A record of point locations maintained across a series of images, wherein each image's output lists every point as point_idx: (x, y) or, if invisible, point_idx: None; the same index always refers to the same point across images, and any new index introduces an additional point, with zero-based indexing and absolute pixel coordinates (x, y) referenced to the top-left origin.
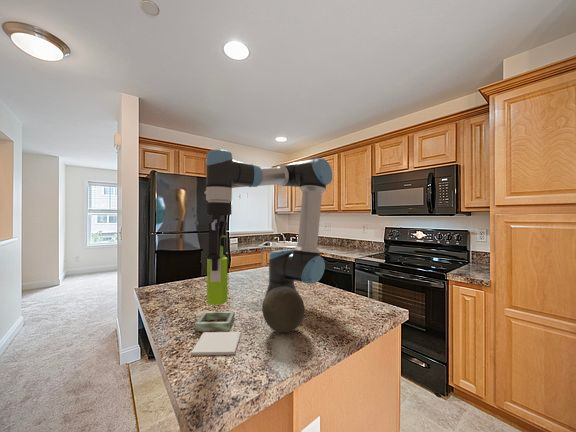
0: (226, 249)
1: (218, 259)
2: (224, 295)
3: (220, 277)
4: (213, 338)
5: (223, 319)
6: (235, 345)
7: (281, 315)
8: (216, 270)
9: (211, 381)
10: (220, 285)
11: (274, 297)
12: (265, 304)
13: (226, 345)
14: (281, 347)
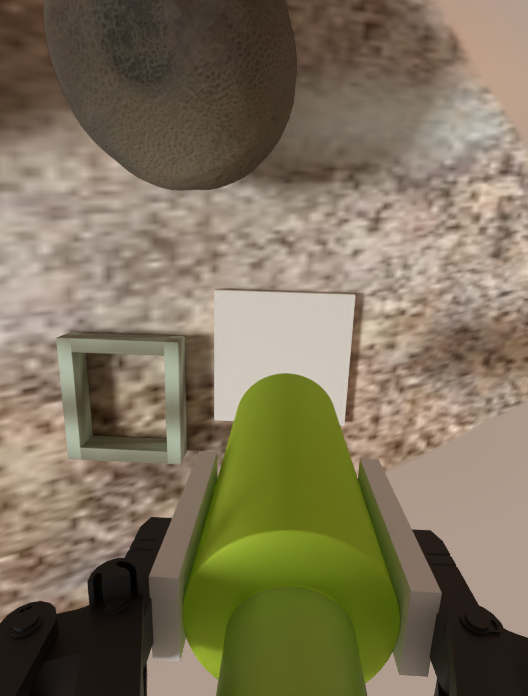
0: (25, 631)
1: (438, 605)
2: (318, 396)
3: (367, 472)
4: (260, 378)
5: (87, 372)
6: (315, 297)
7: (295, 79)
8: (432, 536)
9: (478, 338)
10: (345, 443)
11: (243, 88)
12: (233, 163)
13: (312, 327)
14: (324, 124)
